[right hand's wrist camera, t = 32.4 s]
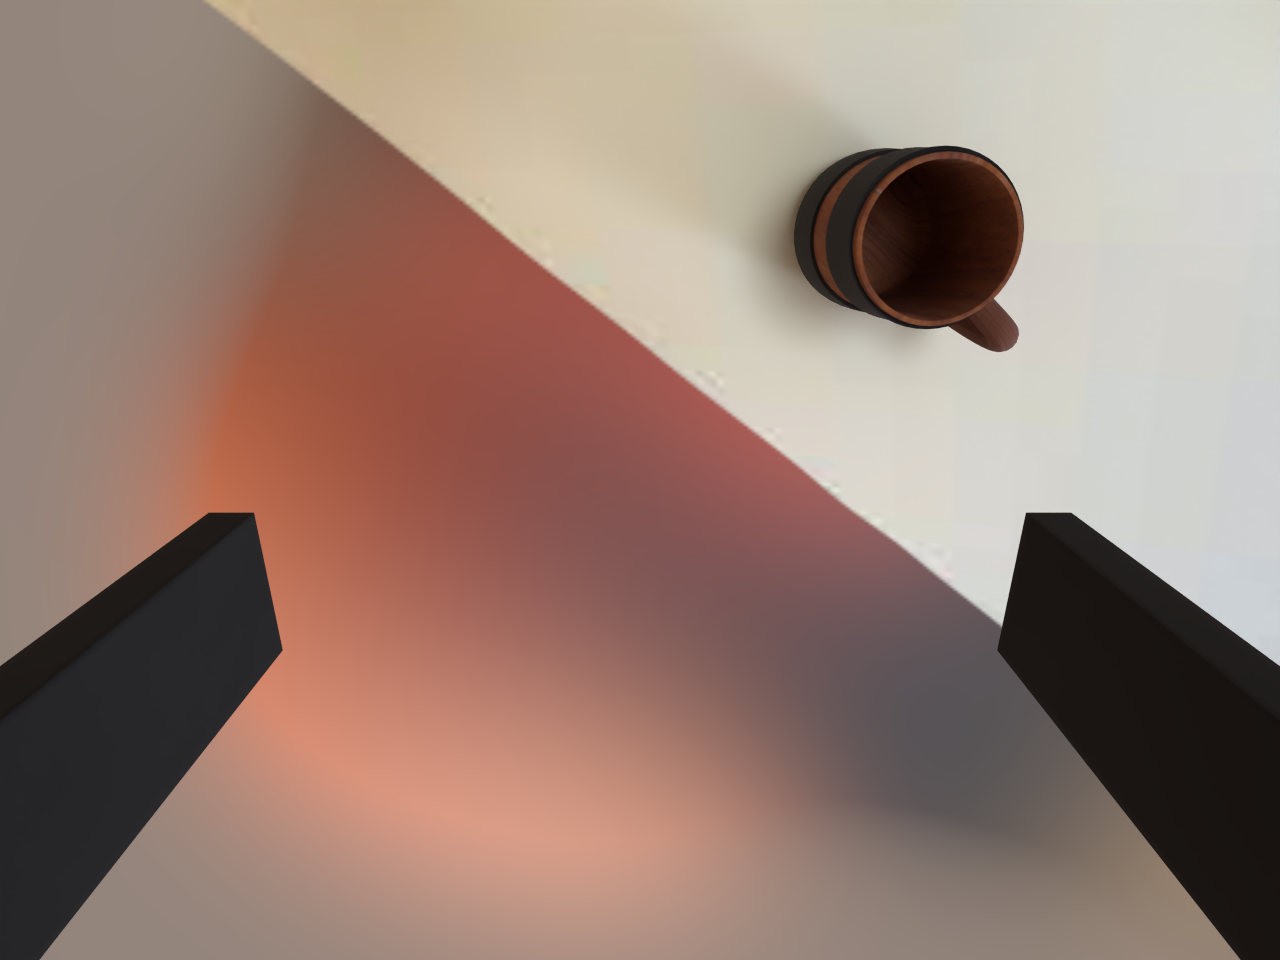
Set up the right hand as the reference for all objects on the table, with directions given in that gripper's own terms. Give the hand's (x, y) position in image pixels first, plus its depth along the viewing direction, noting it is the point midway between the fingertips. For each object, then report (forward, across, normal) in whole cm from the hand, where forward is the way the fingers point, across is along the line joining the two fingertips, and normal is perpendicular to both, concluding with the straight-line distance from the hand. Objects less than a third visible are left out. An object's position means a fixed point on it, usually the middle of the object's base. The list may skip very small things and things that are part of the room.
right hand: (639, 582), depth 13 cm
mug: (+34, -14, -3) cm, 38 cm away
